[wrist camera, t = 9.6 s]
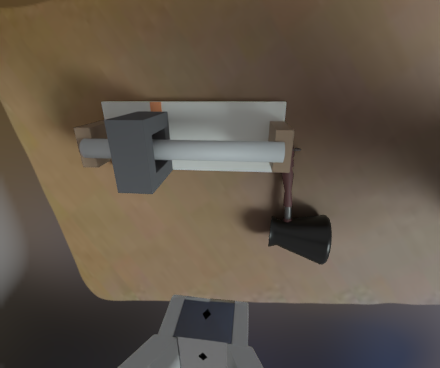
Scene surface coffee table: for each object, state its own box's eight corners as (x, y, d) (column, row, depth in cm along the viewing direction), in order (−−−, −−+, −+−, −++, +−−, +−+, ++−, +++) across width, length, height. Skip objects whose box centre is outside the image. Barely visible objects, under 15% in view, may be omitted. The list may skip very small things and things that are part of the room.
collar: (167, 111, 30) (142, 120, 23) (172, 169, 33) (152, 194, 26) (137, 111, 30) (103, 120, 23) (145, 168, 33) (118, 192, 26)
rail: (285, 101, 32) (300, 107, 23) (278, 169, 36) (289, 197, 27) (105, 101, 34) (58, 107, 25) (117, 165, 38) (80, 189, 29)
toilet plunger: (317, 248, 40) (268, 240, 42) (337, 145, 35) (280, 141, 37) (326, 275, 33) (266, 264, 35) (352, 151, 28) (281, 146, 30)
